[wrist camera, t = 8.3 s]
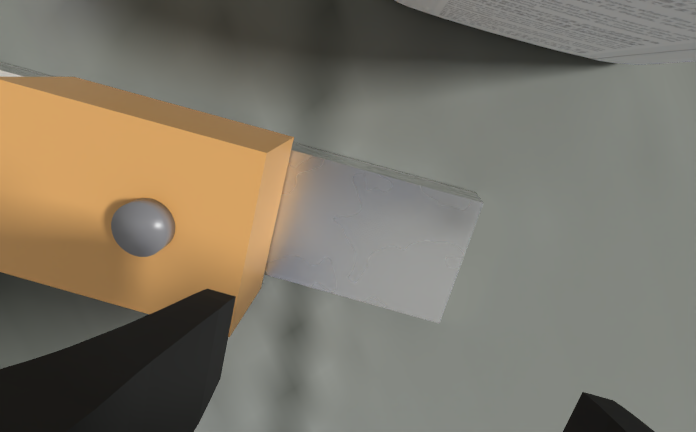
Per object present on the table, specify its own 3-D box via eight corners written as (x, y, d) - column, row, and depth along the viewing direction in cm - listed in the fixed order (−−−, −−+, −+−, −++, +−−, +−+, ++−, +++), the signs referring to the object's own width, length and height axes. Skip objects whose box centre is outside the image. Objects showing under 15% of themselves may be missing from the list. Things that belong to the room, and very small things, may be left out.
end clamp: (261, 287, 18) (222, 347, 14) (64, 232, 18) (-30, 276, 14) (294, 137, 16) (260, 156, 12) (74, 77, 16) (-31, 76, 12)
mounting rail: (432, 315, 19) (440, 365, 16) (-218, 133, 20) (-343, 144, 16) (480, 180, 17) (501, 204, 14) (-238, -17, 18) (-384, -39, 14)
